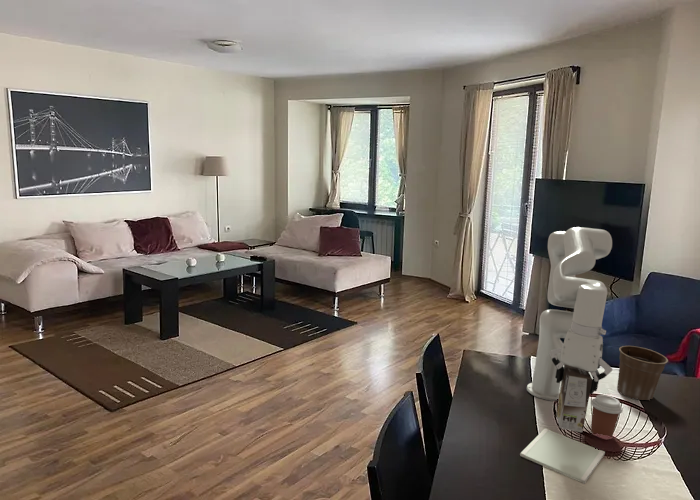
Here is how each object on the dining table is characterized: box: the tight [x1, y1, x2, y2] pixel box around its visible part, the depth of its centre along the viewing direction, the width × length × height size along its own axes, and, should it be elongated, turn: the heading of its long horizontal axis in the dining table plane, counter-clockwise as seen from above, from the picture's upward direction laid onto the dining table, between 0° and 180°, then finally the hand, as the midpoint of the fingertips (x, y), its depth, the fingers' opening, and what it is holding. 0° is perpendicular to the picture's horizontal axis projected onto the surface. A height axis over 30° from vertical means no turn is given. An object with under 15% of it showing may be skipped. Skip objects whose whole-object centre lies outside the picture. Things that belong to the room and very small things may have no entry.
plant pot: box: [616, 345, 669, 401], centre depth 205 cm, size 16×16×16 cm
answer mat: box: [519, 427, 606, 484], centre depth 160 cm, size 20×18×1 cm
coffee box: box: [555, 365, 593, 433], centre depth 156 cm, size 9×6×16 cm
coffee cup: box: [590, 394, 624, 436], centre depth 173 cm, size 9×9×12 cm
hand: (575, 386), depth 156 cm, fingers closed on coffee box, 8 cm apart
